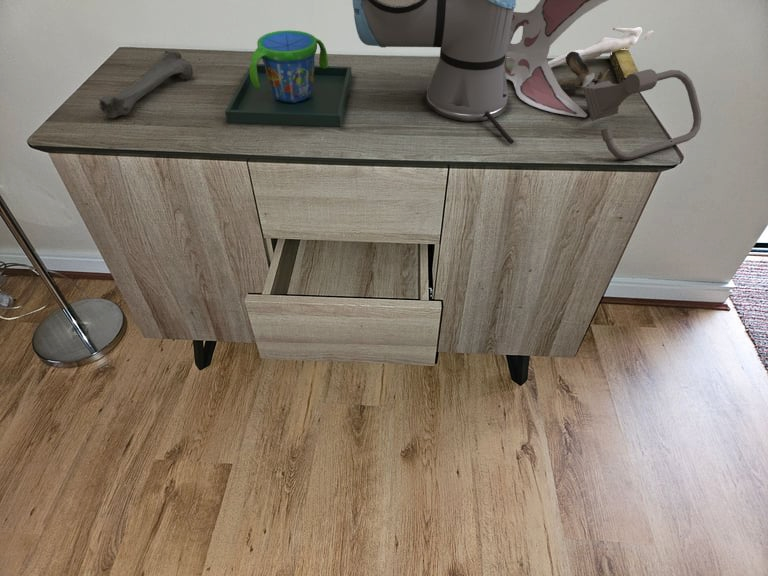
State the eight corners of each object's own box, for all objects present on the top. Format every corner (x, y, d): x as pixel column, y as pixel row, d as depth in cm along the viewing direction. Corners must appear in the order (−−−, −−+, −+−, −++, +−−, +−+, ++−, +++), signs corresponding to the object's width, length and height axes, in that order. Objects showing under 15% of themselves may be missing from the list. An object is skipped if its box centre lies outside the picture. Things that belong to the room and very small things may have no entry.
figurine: (557, 68, 103) (667, 28, 106) (551, 50, 103) (662, 10, 105) (536, 85, 114) (637, 49, 116) (530, 69, 114) (631, 33, 116)
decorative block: (620, 88, 104) (638, 90, 104) (624, 76, 103) (643, 78, 102) (608, 58, 115) (624, 59, 115) (612, 47, 113) (628, 48, 113)
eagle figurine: (605, 81, 104) (565, 62, 106) (613, 59, 97) (571, 39, 99) (583, 112, 104) (544, 91, 106) (590, 92, 97) (548, 70, 99)
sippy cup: (316, 76, 106) (311, 22, 98) (342, 96, 100) (339, 41, 92) (244, 94, 100) (233, 39, 92) (267, 117, 93) (258, 60, 86)
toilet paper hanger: (619, 163, 83) (594, 71, 81) (572, 177, 93) (549, 96, 92) (713, 132, 90) (692, 47, 89) (660, 149, 100) (641, 72, 99)
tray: (351, 77, 107) (351, 66, 105) (340, 127, 93) (340, 115, 91) (253, 74, 107) (251, 63, 106) (227, 123, 93) (224, 111, 92)
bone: (174, 71, 108) (165, 41, 104) (201, 76, 106) (193, 45, 102) (97, 119, 94) (83, 86, 89) (126, 125, 92) (113, 92, 88)
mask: (470, 104, 120) (599, 126, 103) (443, 93, 110) (580, 116, 93) (498, -5, 113) (640, 0, 96) (471, -26, 104) (624, -24, 87)
